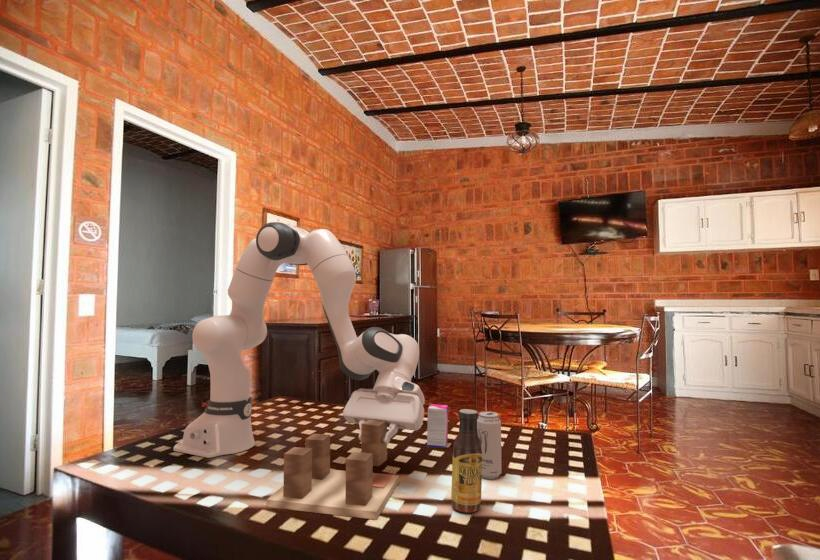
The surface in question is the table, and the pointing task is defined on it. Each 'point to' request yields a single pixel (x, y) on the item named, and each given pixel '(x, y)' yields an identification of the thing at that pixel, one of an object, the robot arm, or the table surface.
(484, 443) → the energy drink can
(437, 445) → the supplement box
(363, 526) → the table surface
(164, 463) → the table surface
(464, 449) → the sauce bottle
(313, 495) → the board
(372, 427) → the walnut peg
